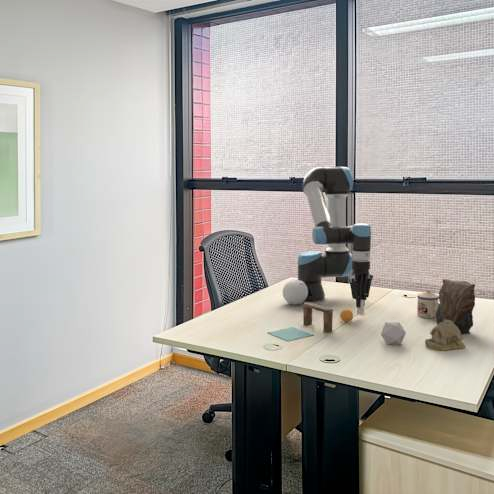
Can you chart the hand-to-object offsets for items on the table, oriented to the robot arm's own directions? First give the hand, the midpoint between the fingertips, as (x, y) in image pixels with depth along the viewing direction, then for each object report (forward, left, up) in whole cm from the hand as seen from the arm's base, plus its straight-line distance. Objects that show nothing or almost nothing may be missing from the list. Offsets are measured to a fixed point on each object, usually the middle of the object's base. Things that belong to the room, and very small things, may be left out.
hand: (360, 314), depth 241 cm
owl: (+34, +16, -2) cm, 38 cm away
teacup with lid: (+15, +27, -2) cm, 31 cm away
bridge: (0, -24, -2) cm, 24 cm away
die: (+31, -14, -2) cm, 34 cm away
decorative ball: (-36, -7, -2) cm, 37 cm away
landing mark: (0, -38, -2) cm, 38 cm away
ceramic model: (+44, -1, -2) cm, 44 cm away
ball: (0, -8, +1) cm, 8 cm away
